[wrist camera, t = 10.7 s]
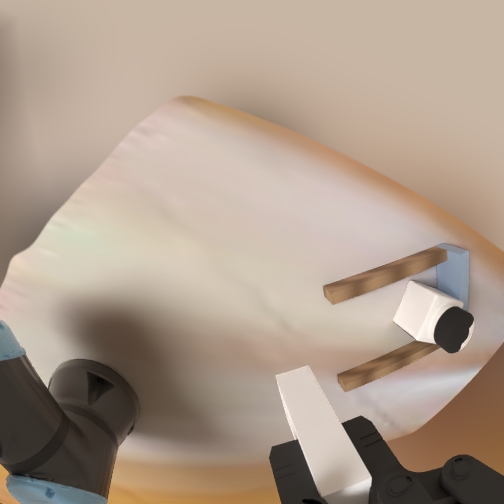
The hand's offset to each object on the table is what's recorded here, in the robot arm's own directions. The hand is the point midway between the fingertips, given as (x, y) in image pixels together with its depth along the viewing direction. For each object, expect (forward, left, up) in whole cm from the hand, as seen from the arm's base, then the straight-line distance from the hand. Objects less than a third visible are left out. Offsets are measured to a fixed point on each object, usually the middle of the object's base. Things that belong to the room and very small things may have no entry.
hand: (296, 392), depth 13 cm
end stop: (+31, -16, -26) cm, 43 cm away
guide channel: (+20, -16, -26) cm, 36 cm away
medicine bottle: (+25, -16, -27) cm, 40 cm away
